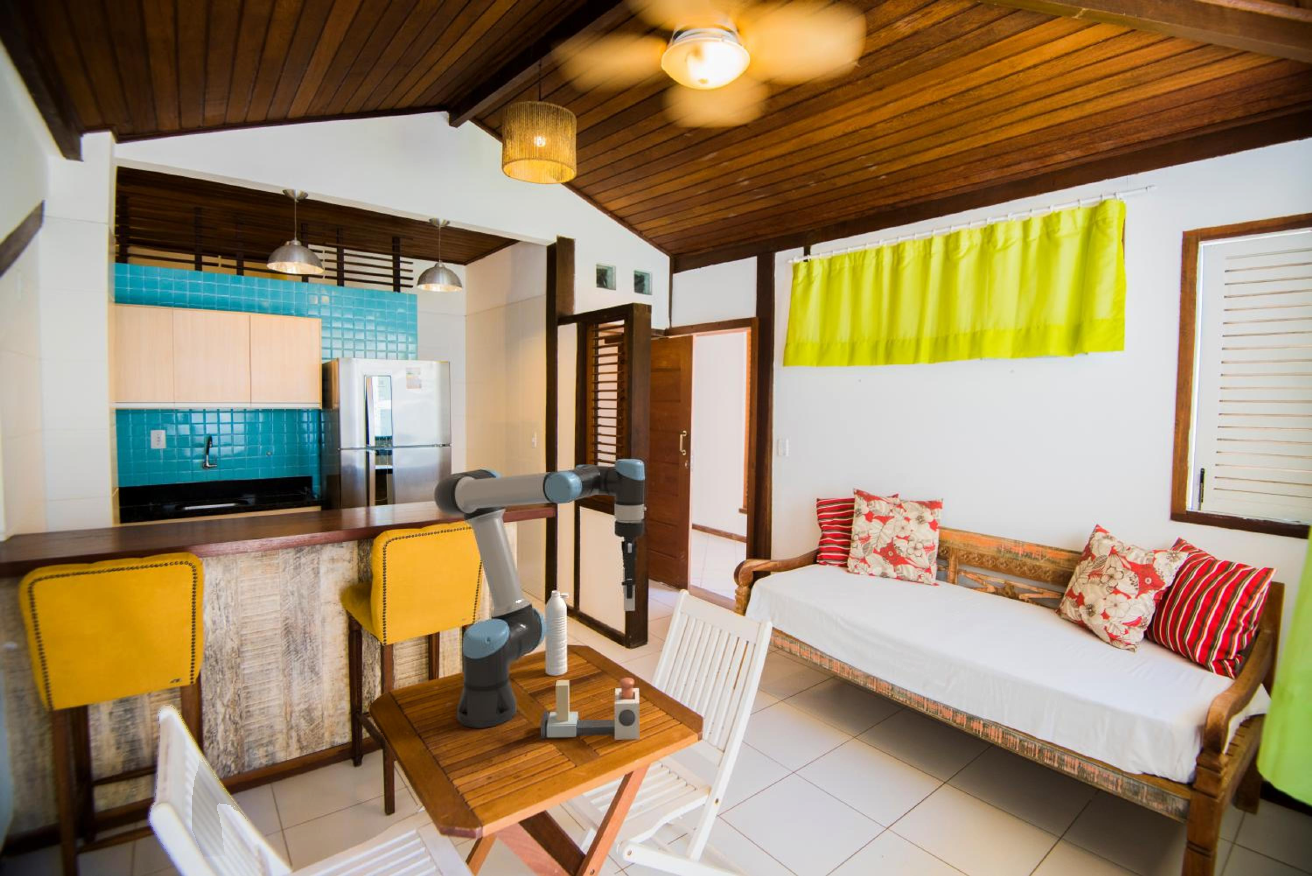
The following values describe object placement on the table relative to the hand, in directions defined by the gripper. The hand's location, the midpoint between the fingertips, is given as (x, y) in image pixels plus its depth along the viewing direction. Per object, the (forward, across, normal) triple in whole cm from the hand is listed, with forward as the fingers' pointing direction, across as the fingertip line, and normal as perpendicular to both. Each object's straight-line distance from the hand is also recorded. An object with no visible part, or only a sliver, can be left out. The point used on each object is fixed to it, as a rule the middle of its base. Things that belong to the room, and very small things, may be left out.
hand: (628, 601), depth 159 cm
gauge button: (+24, -7, 0) cm, 25 cm away
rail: (+31, -6, +11) cm, 33 cm away
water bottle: (+31, +28, +20) cm, 47 cm away
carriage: (+31, -6, +16) cm, 36 cm away
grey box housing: (+31, -7, 0) cm, 31 cm away
